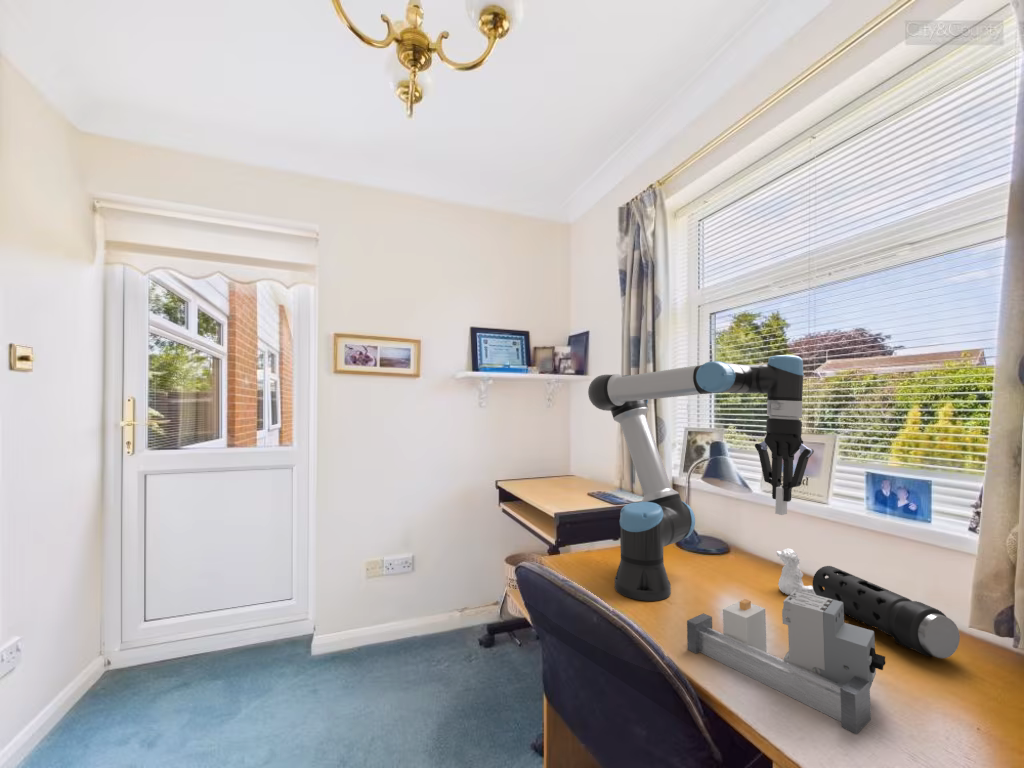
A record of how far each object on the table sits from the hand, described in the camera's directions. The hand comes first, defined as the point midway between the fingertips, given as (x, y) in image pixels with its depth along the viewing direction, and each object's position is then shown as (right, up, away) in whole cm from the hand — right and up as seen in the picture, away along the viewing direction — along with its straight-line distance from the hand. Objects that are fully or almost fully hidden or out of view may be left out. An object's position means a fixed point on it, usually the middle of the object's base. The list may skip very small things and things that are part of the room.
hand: (781, 513), depth 111 cm
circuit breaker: (-8, -24, -30) cm, 39 cm away
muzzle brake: (+18, -25, -8) cm, 32 cm away
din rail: (-18, -24, -26) cm, 40 cm away
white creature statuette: (+12, -26, +13) cm, 31 cm away
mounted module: (-18, -24, -17) cm, 34 cm away
